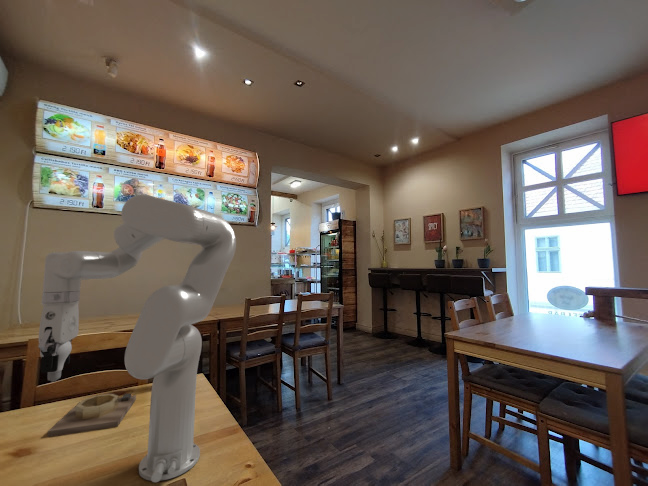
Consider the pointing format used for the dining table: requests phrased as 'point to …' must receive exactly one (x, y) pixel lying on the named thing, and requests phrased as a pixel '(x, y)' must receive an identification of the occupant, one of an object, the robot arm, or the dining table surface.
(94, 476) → the dining table surface
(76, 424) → the lamp base
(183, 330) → the robot arm
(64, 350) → the lightbulb
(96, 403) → the holder ring
